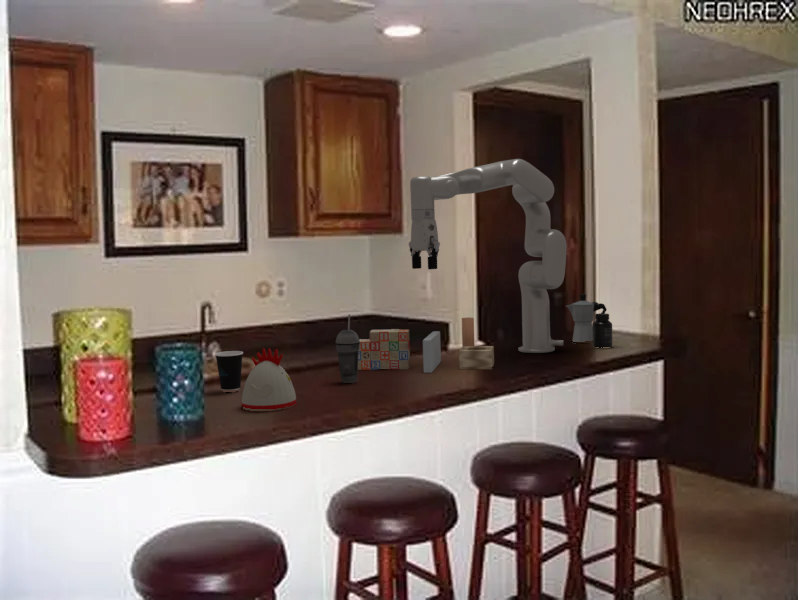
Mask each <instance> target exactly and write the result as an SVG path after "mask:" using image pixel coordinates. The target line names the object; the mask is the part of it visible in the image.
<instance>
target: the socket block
mask: <svg viewBox="0 0 798 600" xmlns="http://www.w3.org/2000/svg"><path fill="white" fill-rule="evenodd" d="M494 348H495V347H494V345H491V346H490V345H489V346H488V345H485V346H484V345H481V346H479V345H478V346H477V345H474V346H462V347H460V349H459V351H458V354H459V355H458V361H459V370H493V368H492V367H494V366H495V352H494V351H495V350H494Z"/></svg>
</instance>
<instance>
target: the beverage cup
mask: <svg viewBox="0 0 798 600" xmlns="http://www.w3.org/2000/svg"><path fill="white" fill-rule="evenodd" d="M347 315H348V316H347V318H348V319H347V320H348V321H347V329H343V330H341V331H340V332H339V333H338V334H337V335H336V339H335V343H334V345H335V349H336V351H337V358H338V366H339V375H340V379H341V383H342V382H343V383H352V384H355V383H354V382H356V383H358V374H359V373H358V371H359V370H358V352H359V346H360V341H359V339H360V337H359V335H358V334H357V332H355V331H354V330H352V329H350V328H351V314H347ZM343 383H342V384H343Z"/></svg>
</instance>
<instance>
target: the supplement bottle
mask: <svg viewBox="0 0 798 600" xmlns="http://www.w3.org/2000/svg"><path fill="white" fill-rule="evenodd" d="M594 317H595V318H594V319H595V320H594V321H592V332H593V343H592V347H593V346H594V347H599V348H601V347H602V348H603V347H612V348H613V345H614V344H613V343H614V342H613V322H611V321H610V313H606V312H605V313H602V312H600V313H599V312H598V313H594Z"/></svg>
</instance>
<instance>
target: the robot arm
mask: <svg viewBox="0 0 798 600" xmlns="http://www.w3.org/2000/svg"><path fill="white" fill-rule="evenodd" d="M509 186H512V188H511V192H512V196H513V198H514V200H515V201H516V202H517V203H519V205H520V206H521V208H522V209H523V211H524V214H525V233H524V251H525V252H526V253H527V255H528V256H530V257H535V258H542V260H530V261H526V262H525V263H523V264H522V265H521V266H520V268H519V270H518V283H519V286H520V292H521V325H522V331H521V332H522V345H521V346H519V347H518V351H519V352H521V353H526V354H536V353H537V354H542V353H543V354H545V353H552V352H554V351H555V350H556V349H555V348H556V347H555V346H559V347H560V346H561V347H563V346H564V340H562V339H552V336H551V326H550V325H551V321H550V320H551V319H550V317H551V316H550V314H551V313H550V310H551V309H550V297H549V293H548V290H554V289H558V288H559V287H560V286H561V285H562V284H563V283H564V278H565V274H566V264H567V251H568V250H567V249H568V248H567V246H568V245H567V241H566V240H567V239H566V237H565V235H564V233H562V231H560V230H558V229H554V228H553V229H552V228H551V211H550V208H549V206H548V204H547V202H549V201H550V200H551V199H552V198H553V197H554V194H555V186H554V183H553V181H552V180H551V179H550V178H549V177H548V176H547V175H546V174H544V173H543V172H541V170H539V169H537V168H536V167H535V166H534V165H532V164H531V163H530V162H528V161H527V160H524V159H521V158H514V159H507V160H500V161H495V162H492V163H489V164H488V163H487V164H483V165H478V166H473V167H470V168H465V169H463V170H459V171H455V172H450V173H446V174H441V175H436V176H432V177H431V176H427V175H426V176H425V175H421V176H414V177H412V178H410V182H409V187H410V188H409V189H410V216H411V217H410V219H411V229H410V241H409V242H408V247H409V252H410V256H411V269H412V270H416V269H422V256H421V253H422V252H424V251H425V252H427V253H426V254H427V255H428V256H427V269H428V270H437V269H438V256H439V254H438V253H439V251H440V245H441V242H440V241H439V234H438V226H437V220H436V217H435V215H436V212H435V211H436V210H435V201H438V200H450V199H452V198H454V197H456V196H457V195H468V194H469V195H470V194H479V193H481V192H482V193H483V192H486V191H490V190H491V191H492V190H496V189H498V188H499V189H500V188H504V187H509Z"/></svg>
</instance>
